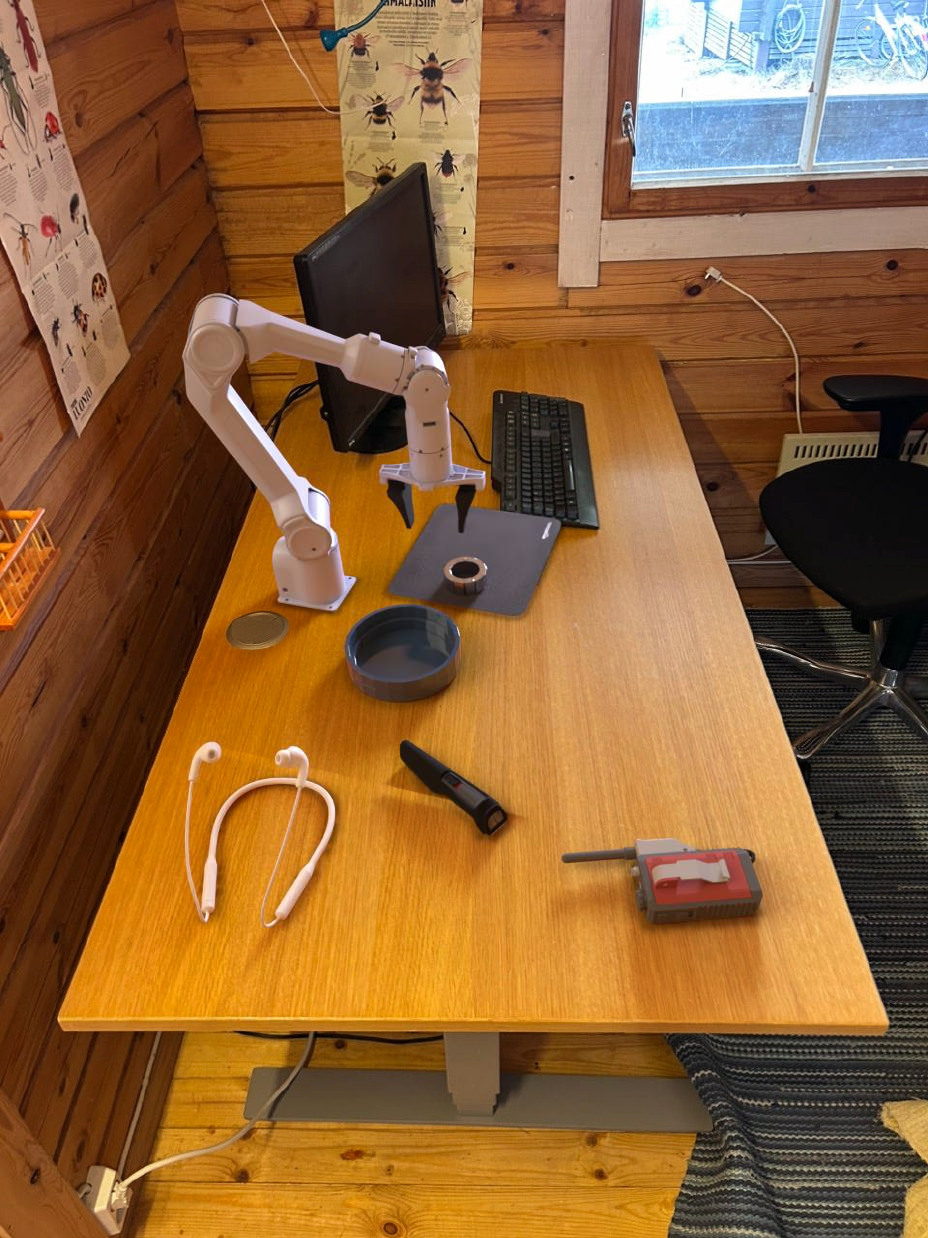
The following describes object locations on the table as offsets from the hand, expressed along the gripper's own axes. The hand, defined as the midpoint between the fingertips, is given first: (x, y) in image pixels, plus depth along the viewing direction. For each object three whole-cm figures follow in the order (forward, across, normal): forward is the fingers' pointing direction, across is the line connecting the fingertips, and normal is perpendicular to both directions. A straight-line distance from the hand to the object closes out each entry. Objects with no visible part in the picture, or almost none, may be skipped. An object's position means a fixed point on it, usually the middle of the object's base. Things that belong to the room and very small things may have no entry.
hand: (436, 526), depth 123 cm
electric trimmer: (+9, +10, -39) cm, 41 cm away
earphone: (+9, -9, -50) cm, 52 cm away
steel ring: (+9, +4, -1) cm, 10 cm away
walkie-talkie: (+9, +34, -47) cm, 59 cm away
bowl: (+9, -1, -19) cm, 21 cm away
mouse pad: (+9, +5, +6) cm, 12 cm away
